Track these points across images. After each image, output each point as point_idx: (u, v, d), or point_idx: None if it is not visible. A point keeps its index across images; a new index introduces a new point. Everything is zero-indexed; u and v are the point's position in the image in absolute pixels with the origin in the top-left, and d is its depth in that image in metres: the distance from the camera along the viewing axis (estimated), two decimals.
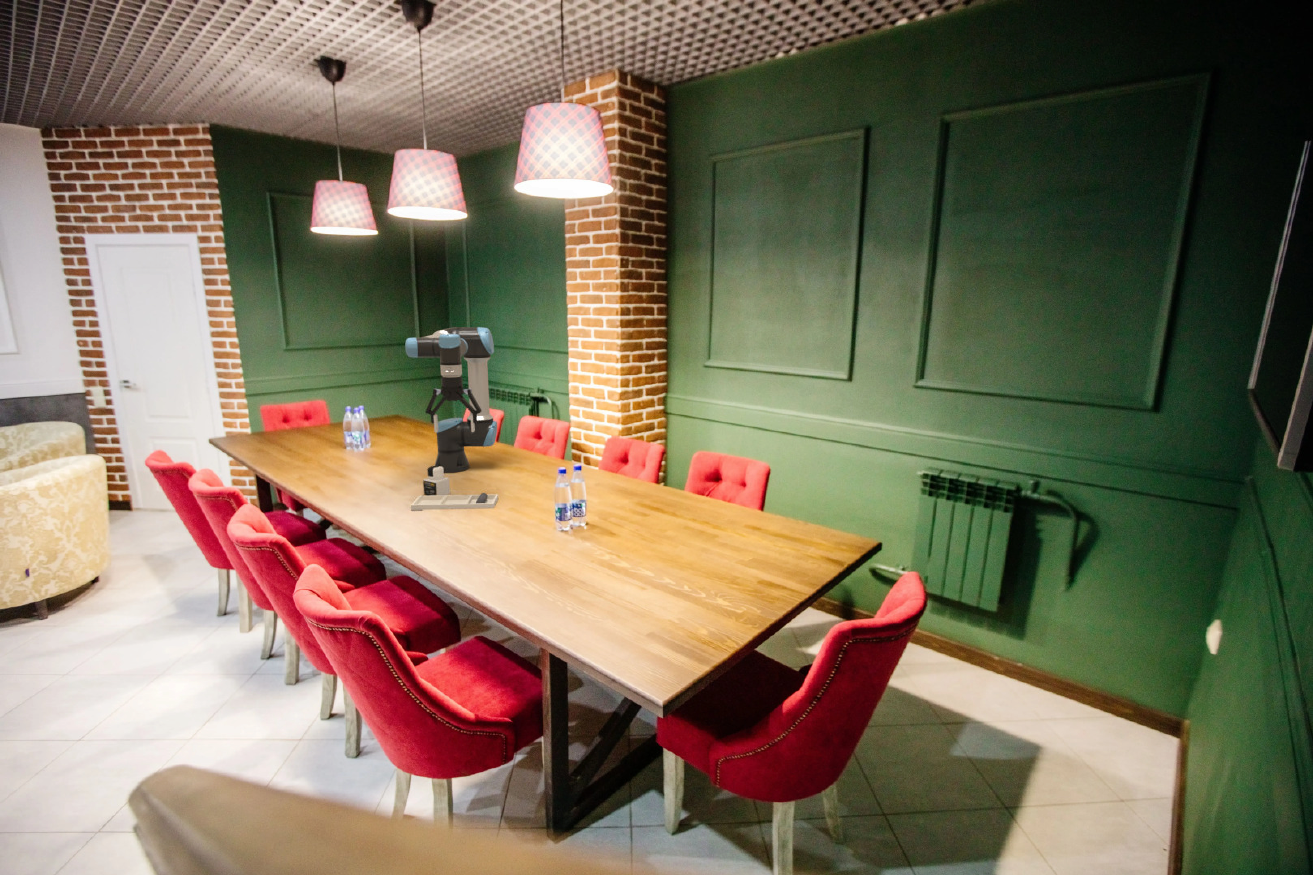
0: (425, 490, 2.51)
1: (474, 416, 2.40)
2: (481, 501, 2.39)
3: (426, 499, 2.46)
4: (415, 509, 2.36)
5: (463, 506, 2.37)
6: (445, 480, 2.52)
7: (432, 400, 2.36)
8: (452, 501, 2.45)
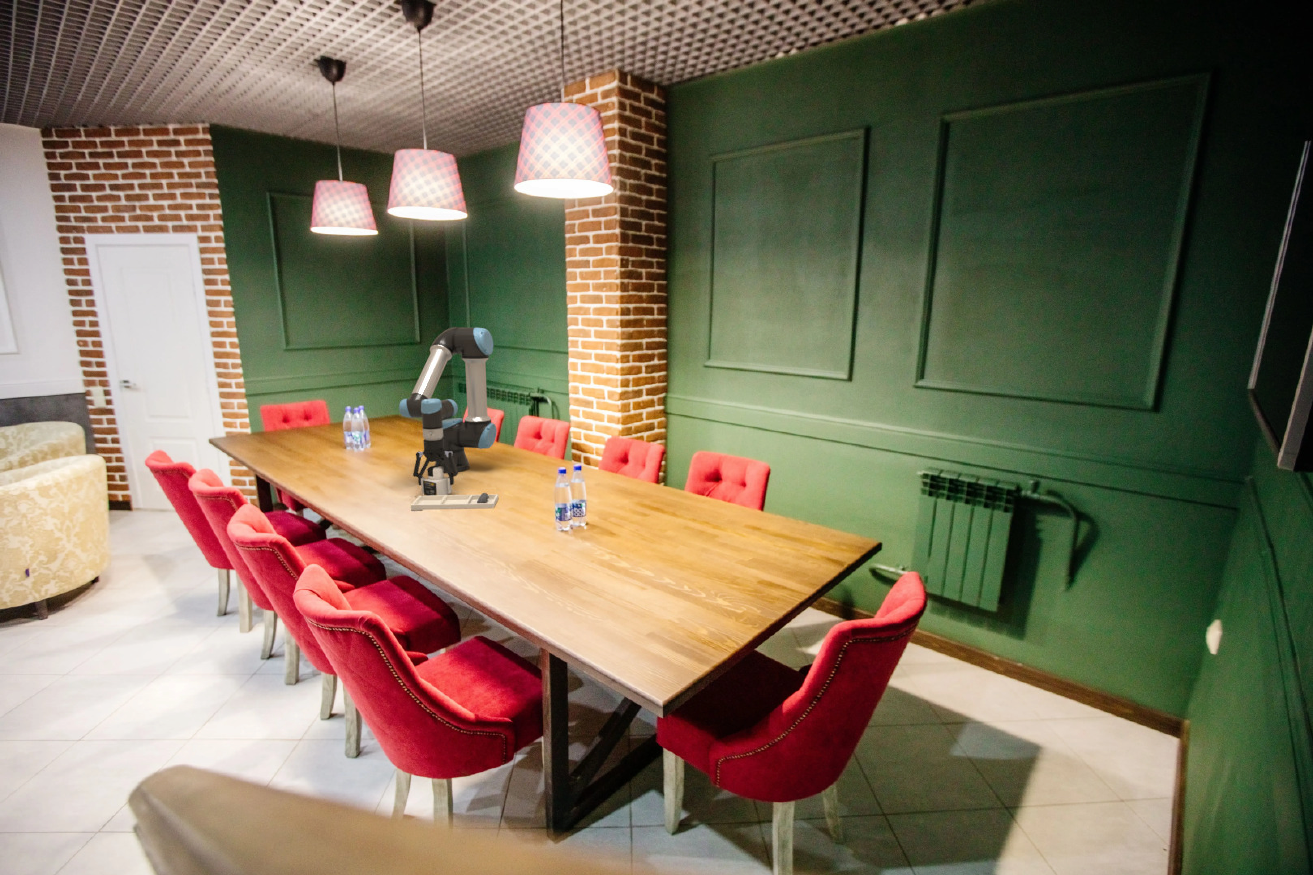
0: (425, 490, 2.51)
1: (451, 478, 2.52)
2: (482, 501, 2.39)
3: (426, 499, 2.46)
4: (415, 509, 2.36)
5: (463, 506, 2.37)
6: (445, 480, 2.52)
7: (417, 463, 2.49)
8: (452, 501, 2.45)
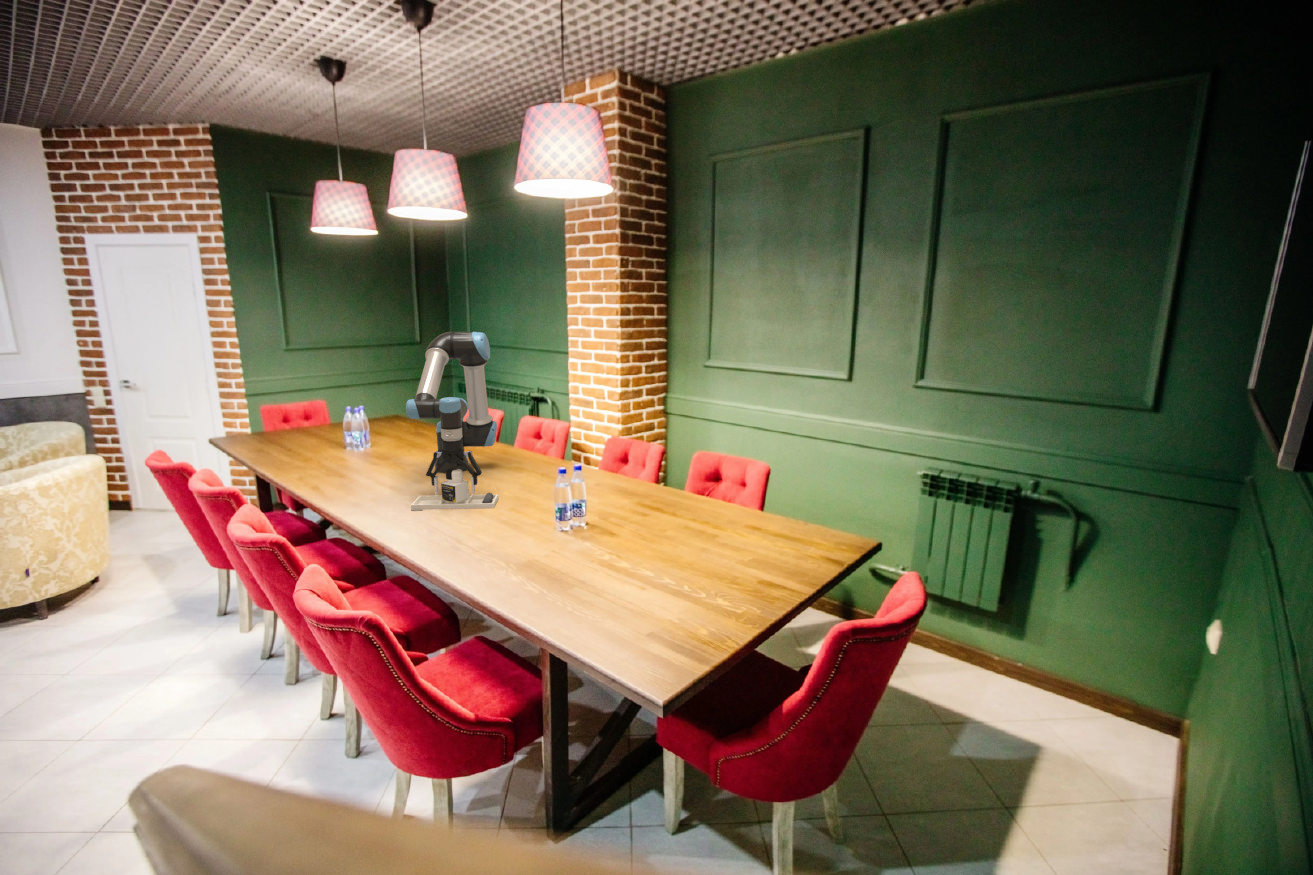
0: (443, 494, 2.39)
1: (474, 478, 2.40)
2: None
3: (426, 499, 2.46)
4: (415, 509, 2.36)
5: (463, 506, 2.37)
6: (464, 483, 2.40)
7: (432, 463, 2.37)
8: None
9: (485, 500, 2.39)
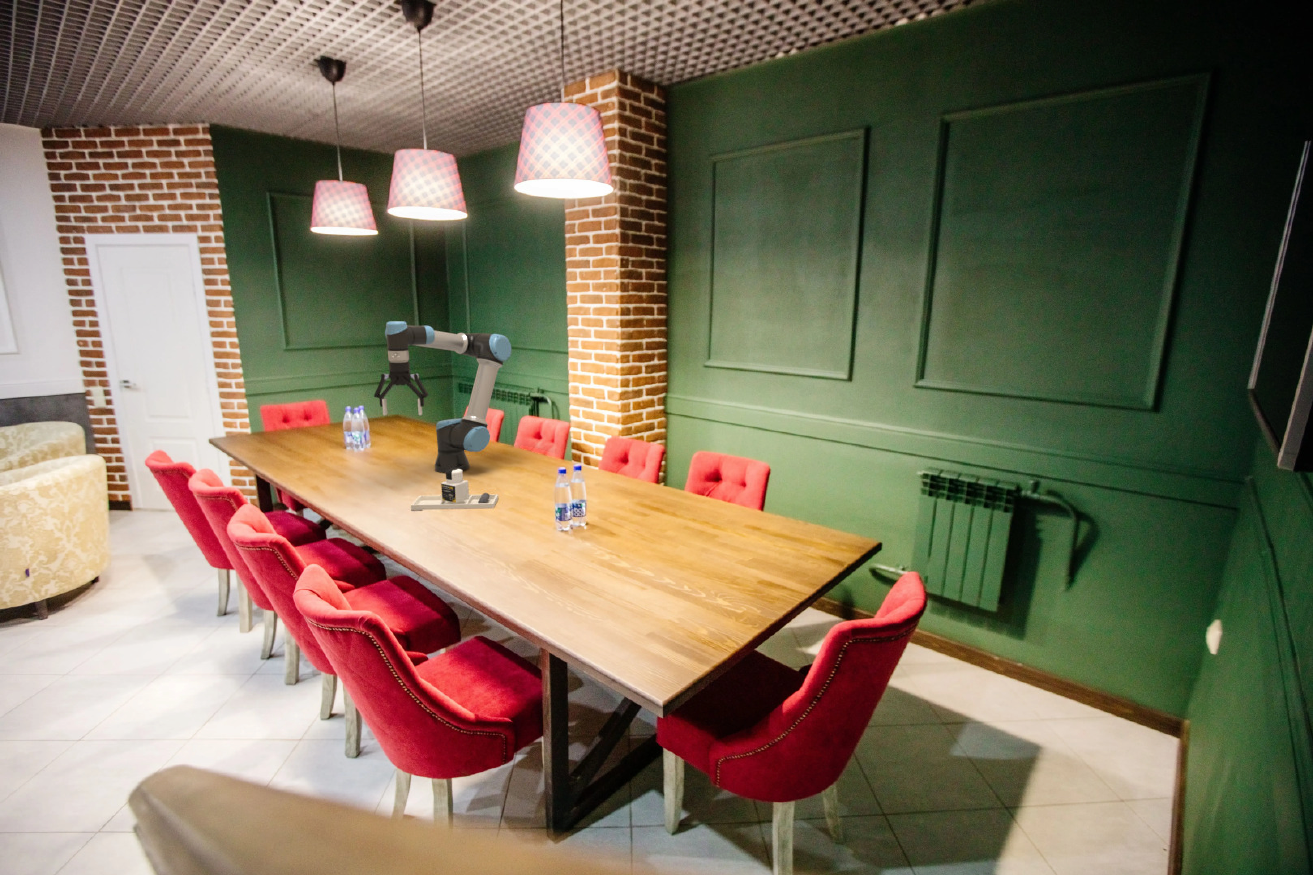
0: (443, 494, 2.39)
1: (421, 400, 2.51)
2: (484, 502, 2.39)
3: (426, 499, 2.46)
4: (415, 509, 2.36)
5: (463, 506, 2.37)
6: (464, 483, 2.40)
7: (380, 384, 2.48)
8: None
9: (479, 501, 2.39)
